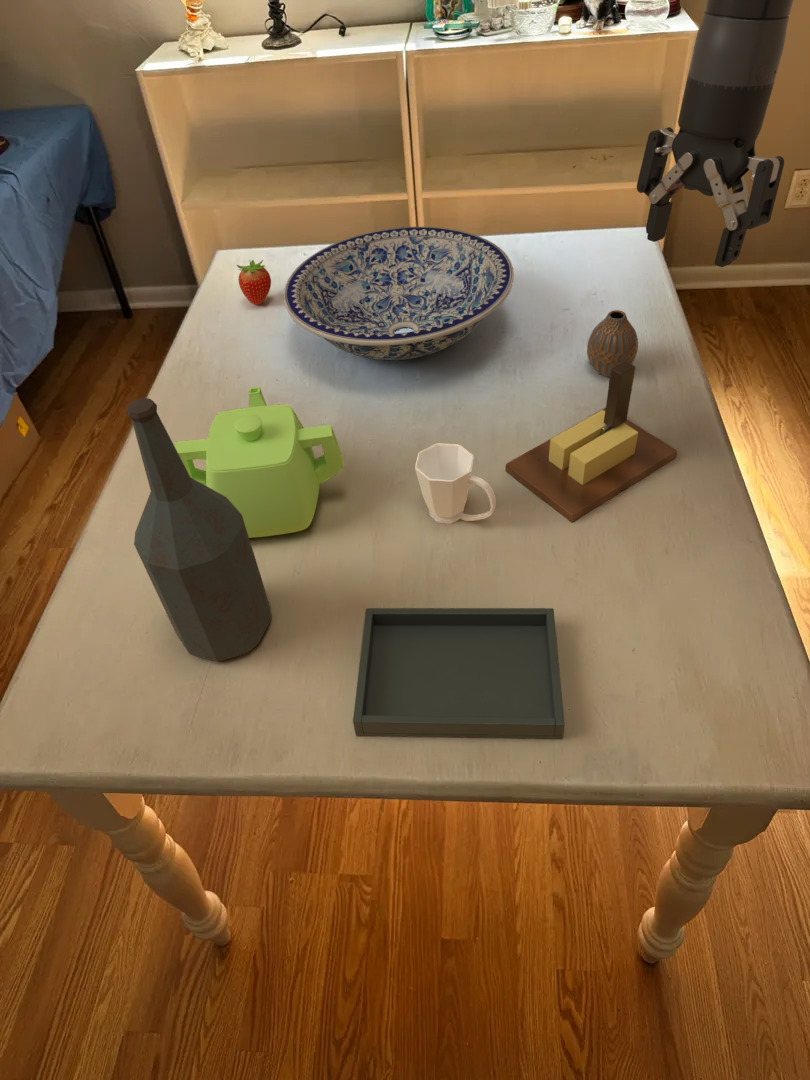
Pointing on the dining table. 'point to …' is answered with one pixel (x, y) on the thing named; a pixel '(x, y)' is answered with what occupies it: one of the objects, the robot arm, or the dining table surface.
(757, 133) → the robot arm
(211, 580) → the bottle
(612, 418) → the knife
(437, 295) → the ceramic bowl
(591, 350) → the vase
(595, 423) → the butter
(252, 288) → the fruit
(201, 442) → the teapot
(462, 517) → the cup
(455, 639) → the tray
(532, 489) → the board
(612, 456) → the butter
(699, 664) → the dining table surface
